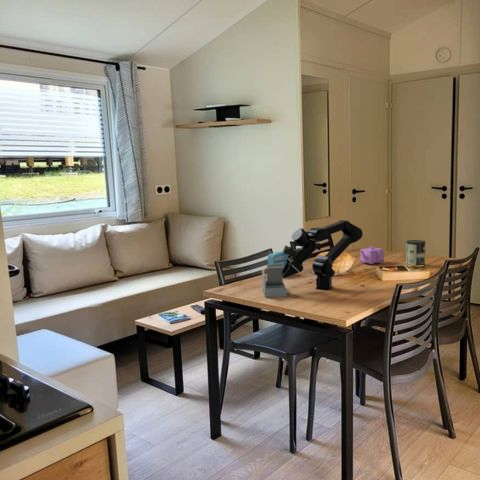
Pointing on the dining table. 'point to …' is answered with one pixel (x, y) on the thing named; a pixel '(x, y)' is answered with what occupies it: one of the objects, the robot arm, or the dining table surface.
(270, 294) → the rack
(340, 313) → the dining table surface
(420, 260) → the coffee can
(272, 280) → the grey rectangular block
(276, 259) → the data package
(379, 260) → the purple box
